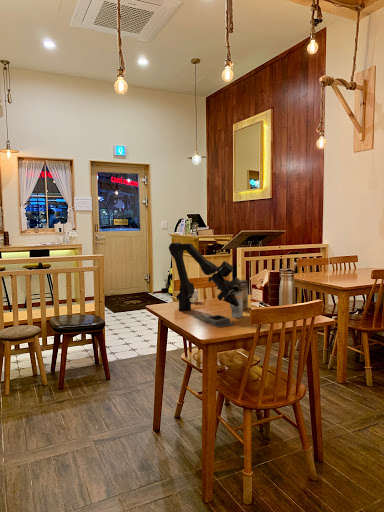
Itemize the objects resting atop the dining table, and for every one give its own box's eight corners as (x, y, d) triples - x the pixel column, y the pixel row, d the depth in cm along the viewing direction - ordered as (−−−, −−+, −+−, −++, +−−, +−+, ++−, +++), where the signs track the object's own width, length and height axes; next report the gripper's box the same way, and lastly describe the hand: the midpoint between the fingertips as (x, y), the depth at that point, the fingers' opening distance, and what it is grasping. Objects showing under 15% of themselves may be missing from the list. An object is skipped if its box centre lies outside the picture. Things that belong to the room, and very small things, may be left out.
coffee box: (237, 310, 214) (237, 282, 213) (229, 308, 219) (229, 281, 218) (248, 307, 220) (248, 280, 219) (240, 305, 225) (240, 279, 224)
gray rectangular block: (231, 317, 198) (231, 293, 197) (235, 315, 202) (235, 291, 201) (239, 318, 196) (239, 293, 195) (243, 316, 200) (243, 292, 199)
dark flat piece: (193, 316, 200) (193, 312, 200) (207, 314, 204) (207, 310, 204) (219, 327, 179) (219, 322, 179) (234, 324, 184) (234, 319, 184)
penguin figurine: (197, 289, 232) (178, 291, 234) (198, 303, 233) (179, 304, 234) (198, 287, 238) (179, 289, 240) (199, 300, 239) (181, 302, 241)
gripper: (222, 275, 191) (242, 298, 186) (237, 270, 207) (256, 292, 202) (209, 289, 196) (228, 312, 191) (225, 283, 212) (243, 305, 207)
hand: (239, 304), depth 198 cm, fingers open, 6 cm apart
